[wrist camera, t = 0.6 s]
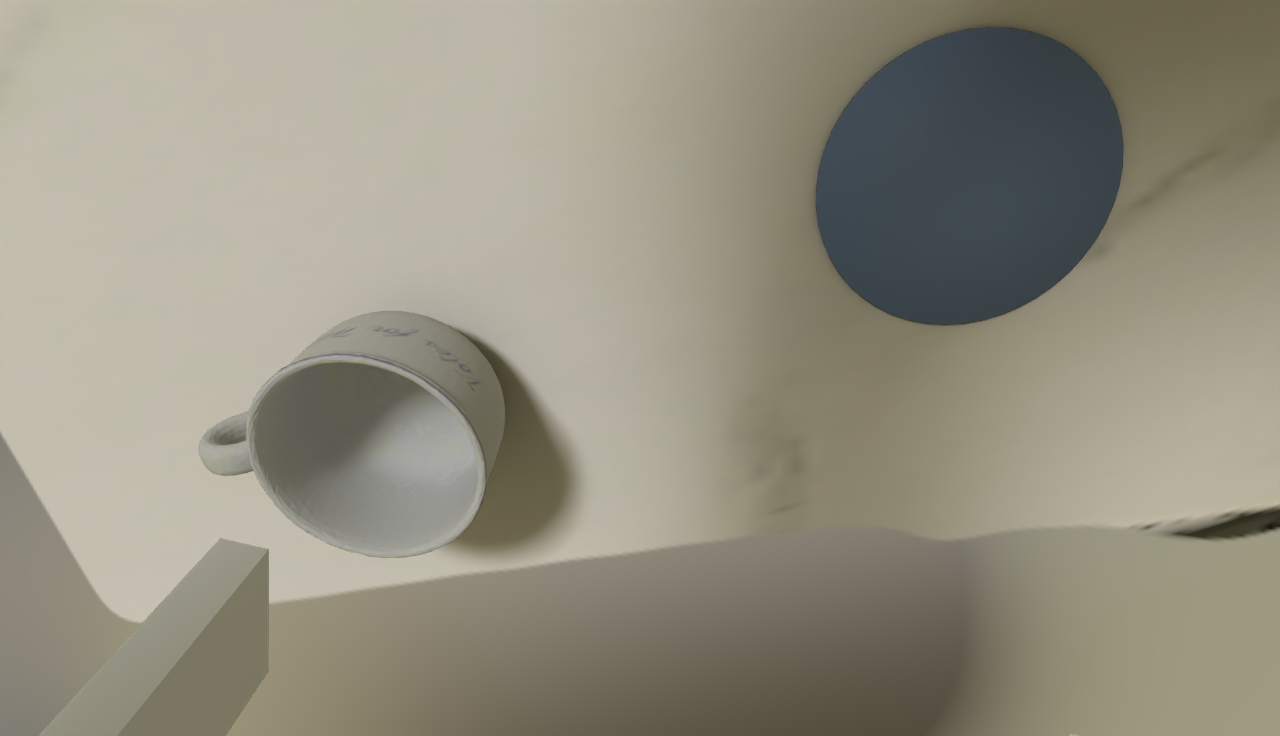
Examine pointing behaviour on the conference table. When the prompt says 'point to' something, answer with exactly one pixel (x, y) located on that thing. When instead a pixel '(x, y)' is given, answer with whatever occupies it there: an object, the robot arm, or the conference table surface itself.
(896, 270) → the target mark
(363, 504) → the teacup
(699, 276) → the conference table surface
